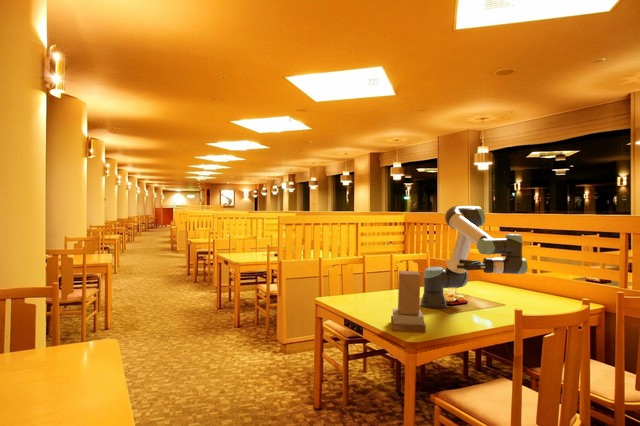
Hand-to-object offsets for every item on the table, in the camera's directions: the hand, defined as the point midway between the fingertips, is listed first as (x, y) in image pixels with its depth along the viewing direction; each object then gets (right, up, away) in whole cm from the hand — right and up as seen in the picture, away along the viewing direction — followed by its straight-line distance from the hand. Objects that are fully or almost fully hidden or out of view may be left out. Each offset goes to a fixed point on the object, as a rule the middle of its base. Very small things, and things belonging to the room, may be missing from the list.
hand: (447, 264), depth 204 cm
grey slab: (-21, -28, -1) cm, 35 cm away
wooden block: (-20, -24, -2) cm, 32 cm away
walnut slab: (-21, -32, -2) cm, 38 cm away
